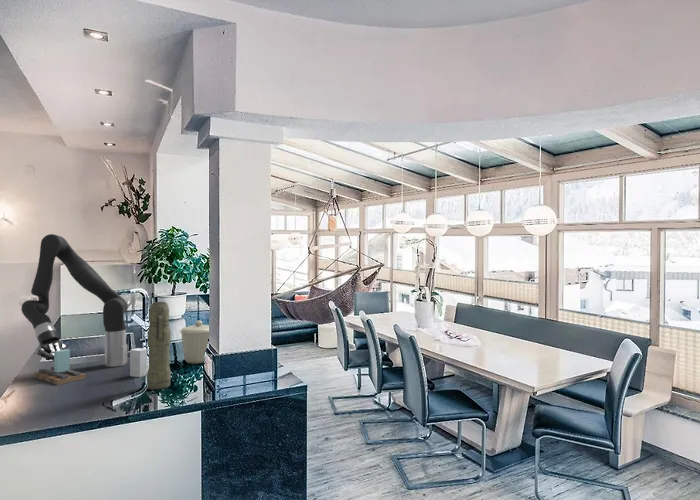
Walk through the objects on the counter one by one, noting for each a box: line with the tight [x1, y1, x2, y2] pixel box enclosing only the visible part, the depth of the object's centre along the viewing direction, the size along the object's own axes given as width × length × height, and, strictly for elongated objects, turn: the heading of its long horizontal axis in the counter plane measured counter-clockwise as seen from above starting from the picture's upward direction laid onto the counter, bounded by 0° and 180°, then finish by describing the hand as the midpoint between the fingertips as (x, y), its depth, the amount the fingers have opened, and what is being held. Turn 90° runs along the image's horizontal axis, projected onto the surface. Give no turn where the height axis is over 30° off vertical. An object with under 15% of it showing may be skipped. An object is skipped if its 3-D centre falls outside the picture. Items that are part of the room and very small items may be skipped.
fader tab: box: [53, 348, 71, 374], centre depth 188 cm, size 4×5×10 cm
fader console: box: [33, 366, 86, 386], centre depth 189 cm, size 22×11×3 cm, turn 59°
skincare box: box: [129, 347, 148, 378], centre depth 192 cm, size 6×4×12 cm
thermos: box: [146, 301, 172, 390], centre depth 177 cm, size 9×12×35 cm
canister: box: [179, 319, 210, 365], centre depth 217 cm, size 18×18×21 cm
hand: (59, 364), depth 189 cm, fingers closed
